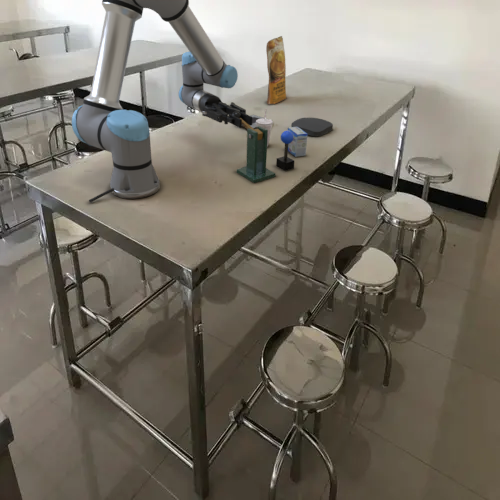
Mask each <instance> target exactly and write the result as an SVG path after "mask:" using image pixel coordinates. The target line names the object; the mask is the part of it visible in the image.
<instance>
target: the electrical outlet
mask: <svg viewBox="0 0 500 500" xmlns="http://www.w3.org/2000/svg"><path fill="white" fill-rule="evenodd" d="M249 116H251V117H252V125H250V126H251V127H252V128H253V129H257V125H256V120H257V119H262V118H264V117H263V116H260V115H256V114H251V115H250V114H249ZM266 119H268V118H267V117H266ZM242 128H245V127H244V126H243V125H242ZM245 129H246V128H245Z"/></svg>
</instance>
